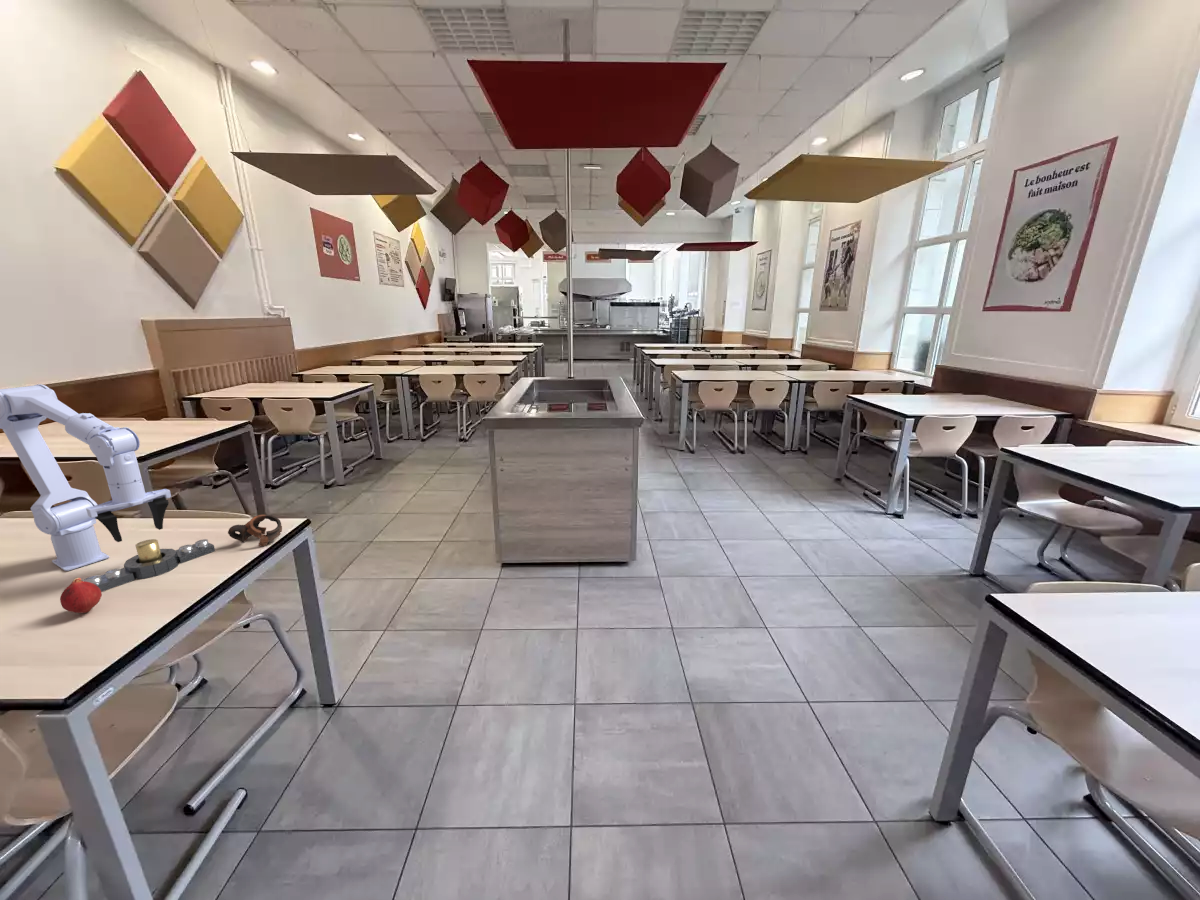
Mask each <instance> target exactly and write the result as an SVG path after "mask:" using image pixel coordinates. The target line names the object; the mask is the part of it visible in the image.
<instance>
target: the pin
mask: <svg viewBox="0 0 1200 900" xmlns="http://www.w3.org/2000/svg"><path fill="white" fill-rule="evenodd" d="M135 549H136V552H137V555H138V557H139V560H140V563H149V562H153V561H156V560H159V559H161V558H162V555H161V551H160V549H161V548H160V545H159V541H158V539H156V538H153V539H146V540H141V541H140V542H138V543H136V544H135Z"/></svg>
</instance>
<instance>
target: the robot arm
mask: <svg viewBox="0 0 1200 900" xmlns="http://www.w3.org/2000/svg"><path fill="white" fill-rule="evenodd" d="M57 396H58V395H57V394H56V392H55V390H53V389H52V388H50V387H48V386H47V385H45V384H42V383H40V384H39V383H38V384H34V385H27V386H19V387H8V388H0V430H1V429H2V431H3V433H4V434H5V436H6V438H7V440H8V441H9V443H10V445H11V446H12V448H13V450H14V452H15V453H16V455H17V456H18V458H19V460H20V462H21V464H22V466H23V468H24V469H25V470H26V472H27V474H28V475H29V477H30V479H31V481H32V483H33V484H34V486H35V488H36V489H37V490H36V491H38V493H39V495H40V496H39V497H38V498H37V500H36V501H35V502H34V503H33V504H32V505H31V507H30V511H31V512H32V516H33V523H34V524H35V526H36V527H37V529H38V530H39V531H40V532H42V533H44V534H46V535H49V536H50V540H51V541H50V542H51V544H52V547H53V549H54V553H55V557H56V558H55V559H52V560H51V562H52V563H53V564H54V565H55V566H57V567H59V568H60V569H62V570H63V571H65V572H68V571H72V570H76V569H78V568H81V567H85V566H88V565H90V564H93V563H97V562H100V561H104V560H107V559H109V558H110V555H108V554H106V553H104V552H103V551H102V550H101V546H100V543H99V539H98V536H97V534H96V530H95V526H94V525H96V524H97V520H98V521H99V522H100V523H101V524H102V525H103V526H104V528H106V529H107V531H109V534H111V536H112V538H113V540H114V541H115V542H117V543H120V542H123V538H122V535H121V532H120V529H119V525H118V517H117V515H114V513H113V512H116V511H120V510H124V509H127V508H132V507H135V506H139V505H142V504H146V503H147V504H148V507H149V510H150V512H151V515H152V520H153V525H154V527H155V529H156V530H159V531H160V530H163V528H164V519H165V513H166V510H167V508H168V506H169V503H170V502H169V500H168V499H169V498H172V494H171V490H170V489H167V488H163V489H158V490H152V491H151V490H150V491H147V492H146V491H145V490H146V489H145V486H144V483H143V479H142V475H141V470H140V467H139V462H138V460H137V459H138V458H137V455H136V451H138V450H139V448H140V446H141V444H140V443H141V441H140V438H139V437H138V435H137V433H136V432H135V431H133V429H131V428H130V427H127V426H124V427H119V426H117V427H115V426H113V425H110V424H109V423H108V422H105V421H103V420H101V419H100V418H98V417H96V416H95V415H94V414H92V413H90V412H89V413H86V412H85V413H84V412H82V413H78V412H77V411H75V410H74V409H72V408H71V407H69V406H68V405H67V404H65V403H64V402H62V401H60V400H59V399H58V397H57ZM47 419H49V420H52V421H54V422H56V423H58V424H60V425H62V426H64V430H65V432H66V433H67V434H68V435H70V436H72V437H74V438H75V439H77V440H79V441H81V442H83V443H84V444H87V445H88V447H89V449H90V450H91V453H93V455H94V456H95V457H96V459H97V462H98V464H99V465H100V466H102V468H103V471H104V475H105V479H106V482H107V486H108V488H109V492H110V496H111V499H112V500H111V499H110V500H108V501H105V502H102V503H99V504H98V503H97V502H96V500H94V499H93V498H91V496H90V495H89V493H88V492H87V491H86V490H82V489H78V488H75V487H74V488H73V487H72V486H71V485H70V483H69V481H68V480H67V478H66V476H65V475H64V473H63V471H62V470H61V467H60V465H59V464H58V461H57V460H56V459H55V457H54V454H53V453H52V451H51V450H50V448H49V446H48V444H47V442H46V441H45V439H44V438H43V435H42V434H41V432H40V430H39V425H40V423H41V422H43V421H45V420H47ZM65 501H68V502H65ZM63 502H65V503H63ZM58 503H60V504H58ZM56 504H58V505H56Z"/></svg>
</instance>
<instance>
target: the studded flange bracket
mask: <svg viewBox="0 0 1200 900" xmlns="http://www.w3.org/2000/svg"><path fill="white" fill-rule="evenodd" d="M160 551H161V555H162V558H161V559H159V560H156V561H153V562H149V563H140V560H139V557H138V554H136V555H134V556H132V557H130V558H128V559H127V560H125V562H124V563H123V568H113V569H110V570H108V571H106V572H104V574H101V575H98V574H97V575H92V576H89V577H87V578H84V580H83V581H86V582H90V583H93V584H95V585H96V586H98V587H99V588H100V590H101V593H102V592H103V593H104V592H105V591H108V590H111V589H114V588H116V587H119V586H123V585H125V584H127V583H130V582H132V581H133V582H134V581H135V580H144V579H148V578H149V579H150V578H153V577H157V576H161V575H163V574H166V573H169V572H170V571H173V570H174V569H175V568H177V567H178V566H179V564H183V563H186V562H189V561H192V560H194V559H197V558H200V557H202V556H205V555H208V554H211V553H214V552H216V548H215V544H213V543H210V542H209V539H206V538H204V539H203V538H202V539H200V540H197V541H195V543H193V544H184V545H181V546H179V548H178V549H173V548H160Z"/></svg>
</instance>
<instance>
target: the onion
mask: <svg viewBox="0 0 1200 900" xmlns="http://www.w3.org/2000/svg"><path fill="white" fill-rule="evenodd" d="M102 594H103V593H102V592H101V590H100V588H99V587H98V586H96V585H95V584H93V583H90V582H86V581H84V580H82V578H81V577H76V578H74V580H73V581H72V582H71V583H70V584H69V585H68V586H66V587H65V588H64V590H63V591H62V592H61V595H60V598H59V601H60V604H61V605H60V606H62V608H63V610H65V611H66V612H67V611H68V612H71V613H77V614H88V613H89V612H90V611H92V610H93V608H94V607H95V606H97V604H98V603H99V602H100V601H101V598H102Z"/></svg>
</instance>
